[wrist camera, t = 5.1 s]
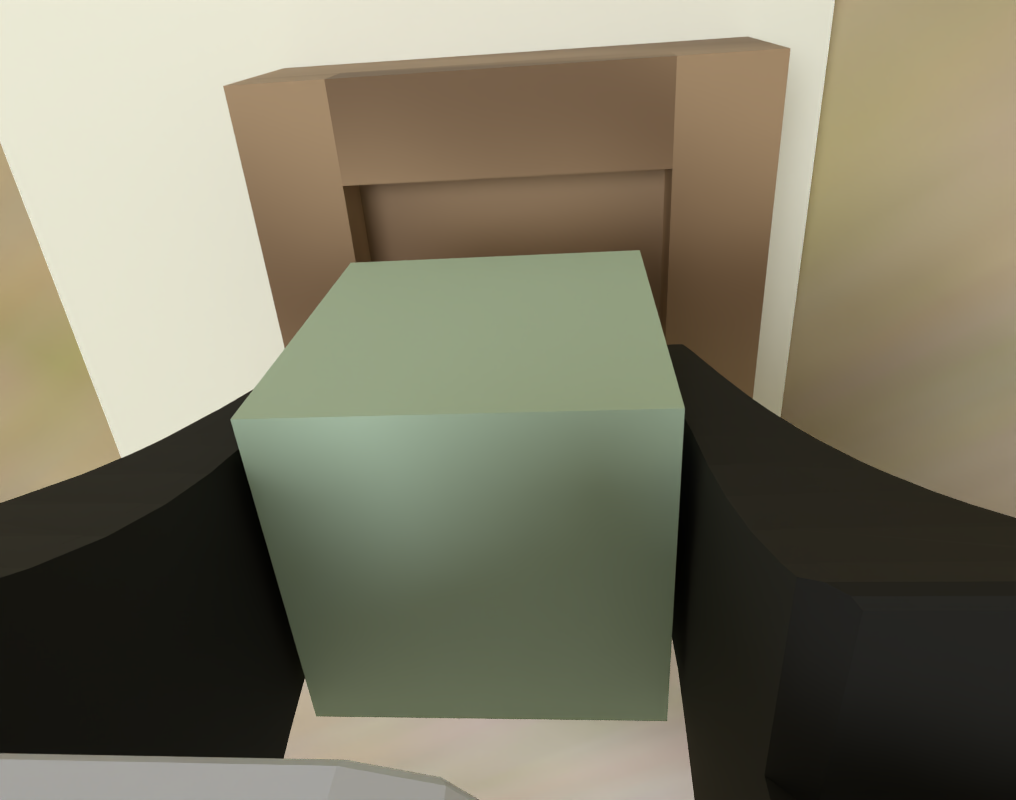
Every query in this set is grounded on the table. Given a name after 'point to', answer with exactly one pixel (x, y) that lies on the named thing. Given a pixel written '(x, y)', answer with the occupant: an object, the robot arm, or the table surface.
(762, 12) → the cream board
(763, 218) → the walnut socket base
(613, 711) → the sage block
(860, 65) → the table surface
